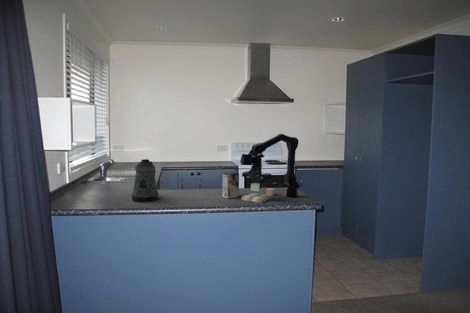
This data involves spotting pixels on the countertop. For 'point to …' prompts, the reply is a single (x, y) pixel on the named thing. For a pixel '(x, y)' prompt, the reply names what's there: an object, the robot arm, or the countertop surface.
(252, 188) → the sage block
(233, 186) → the coffee box
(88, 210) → the countertop surface
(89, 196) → the countertop surface
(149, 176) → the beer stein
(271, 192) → the terracotta cube
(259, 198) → the birch plinth
